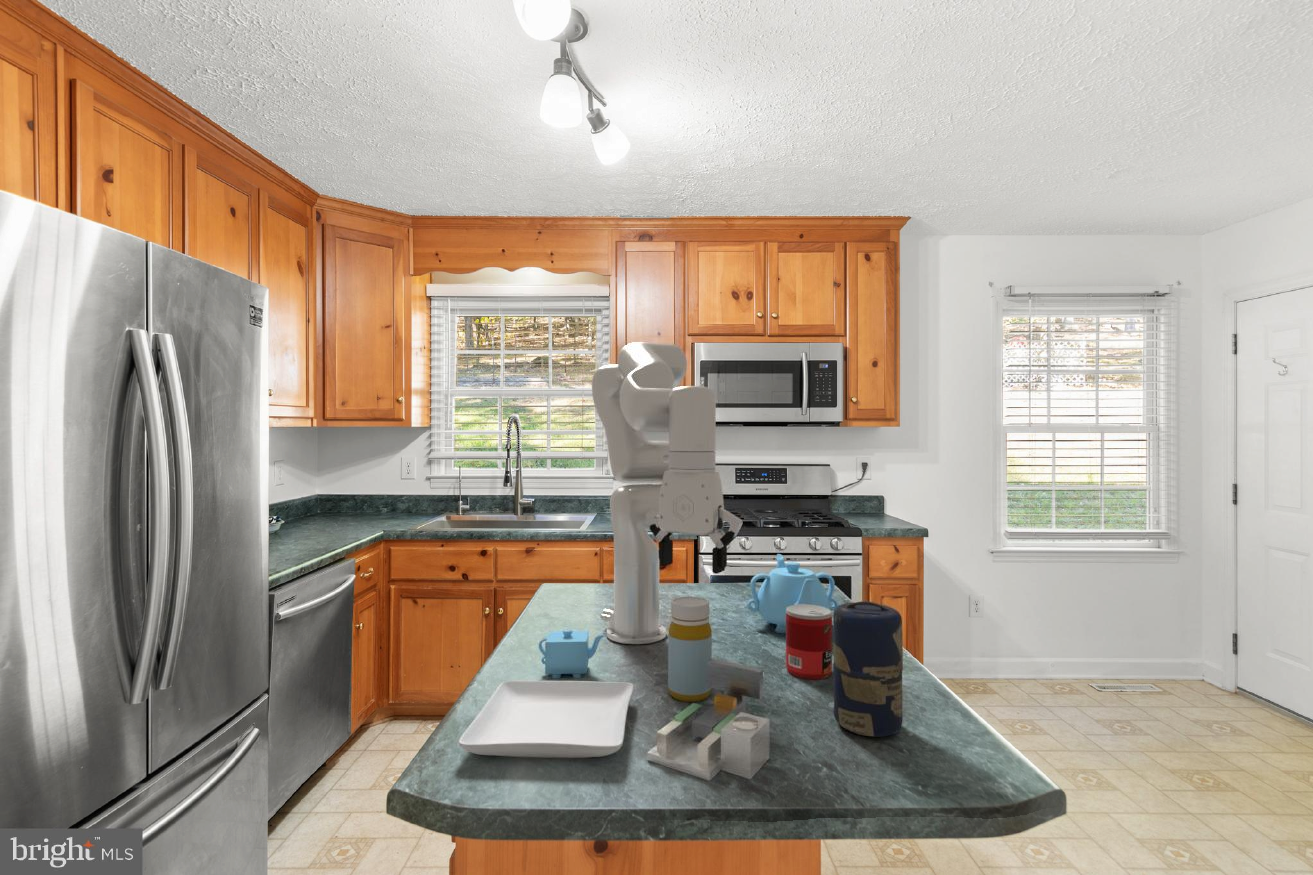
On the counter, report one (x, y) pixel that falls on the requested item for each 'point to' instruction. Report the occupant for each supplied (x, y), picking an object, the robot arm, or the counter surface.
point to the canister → (868, 668)
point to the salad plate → (551, 720)
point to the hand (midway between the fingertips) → (691, 568)
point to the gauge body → (713, 745)
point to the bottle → (689, 649)
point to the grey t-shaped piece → (728, 693)
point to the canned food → (809, 641)
